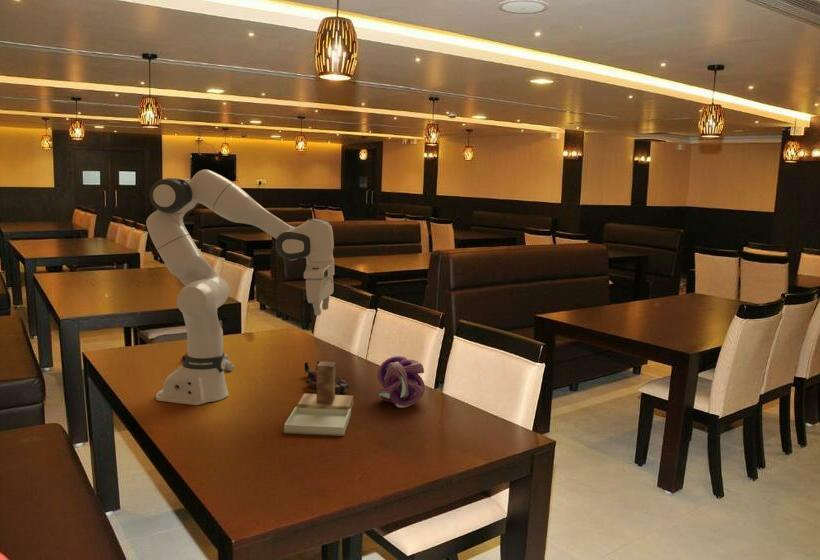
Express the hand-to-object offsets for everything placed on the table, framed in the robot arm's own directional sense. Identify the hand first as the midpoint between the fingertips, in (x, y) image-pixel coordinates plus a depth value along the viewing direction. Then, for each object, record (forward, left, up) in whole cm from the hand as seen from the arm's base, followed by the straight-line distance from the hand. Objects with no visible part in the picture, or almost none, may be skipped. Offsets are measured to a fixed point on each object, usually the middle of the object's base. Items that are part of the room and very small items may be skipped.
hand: (321, 312), depth 201 cm
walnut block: (+3, -10, -26) cm, 28 cm away
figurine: (-1, +12, -30) cm, 32 cm away
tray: (+3, -22, -29) cm, 37 cm away
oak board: (+3, -9, -29) cm, 31 cm away
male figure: (-47, +33, -30) cm, 65 cm away
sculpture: (+26, +1, -30) cm, 40 cm away
